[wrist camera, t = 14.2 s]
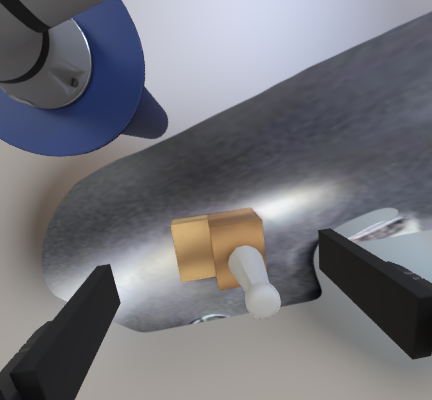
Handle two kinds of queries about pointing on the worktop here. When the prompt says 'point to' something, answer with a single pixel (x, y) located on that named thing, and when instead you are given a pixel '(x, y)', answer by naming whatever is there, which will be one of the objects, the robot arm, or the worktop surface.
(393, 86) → the worktop surface
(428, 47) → the worktop surface
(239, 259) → the salt shaker
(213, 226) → the stepped wooden block
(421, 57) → the worktop surface
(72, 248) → the worktop surface
